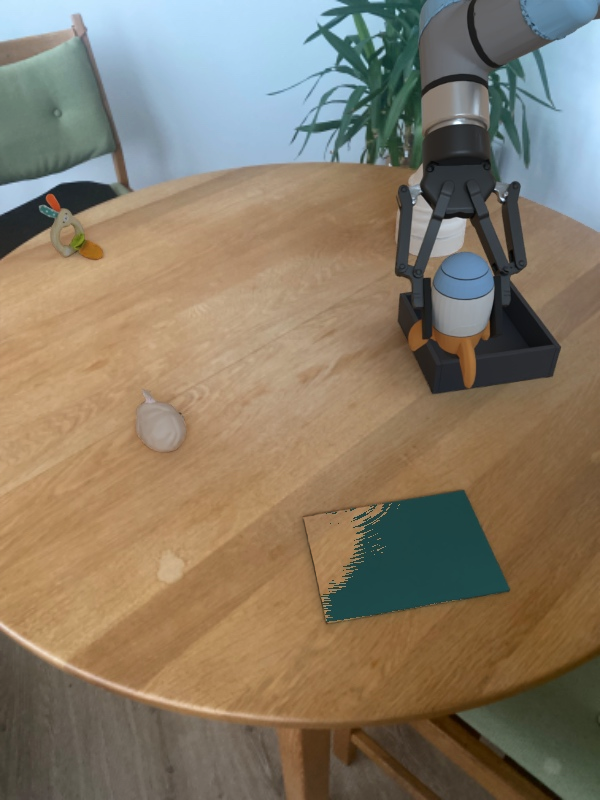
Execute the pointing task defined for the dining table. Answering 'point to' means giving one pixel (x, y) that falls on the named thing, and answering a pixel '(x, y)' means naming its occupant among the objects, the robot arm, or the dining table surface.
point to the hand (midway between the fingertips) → (461, 336)
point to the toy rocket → (459, 310)
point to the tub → (489, 349)
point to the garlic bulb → (159, 424)
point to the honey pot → (450, 229)
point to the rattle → (64, 220)
